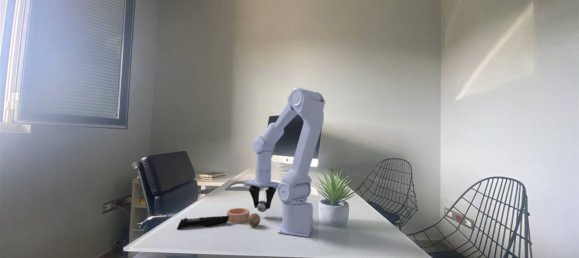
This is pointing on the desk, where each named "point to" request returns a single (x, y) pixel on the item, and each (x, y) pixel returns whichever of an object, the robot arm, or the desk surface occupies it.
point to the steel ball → (261, 206)
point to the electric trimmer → (202, 221)
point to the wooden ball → (254, 220)
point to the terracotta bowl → (238, 215)
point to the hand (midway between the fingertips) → (262, 207)
